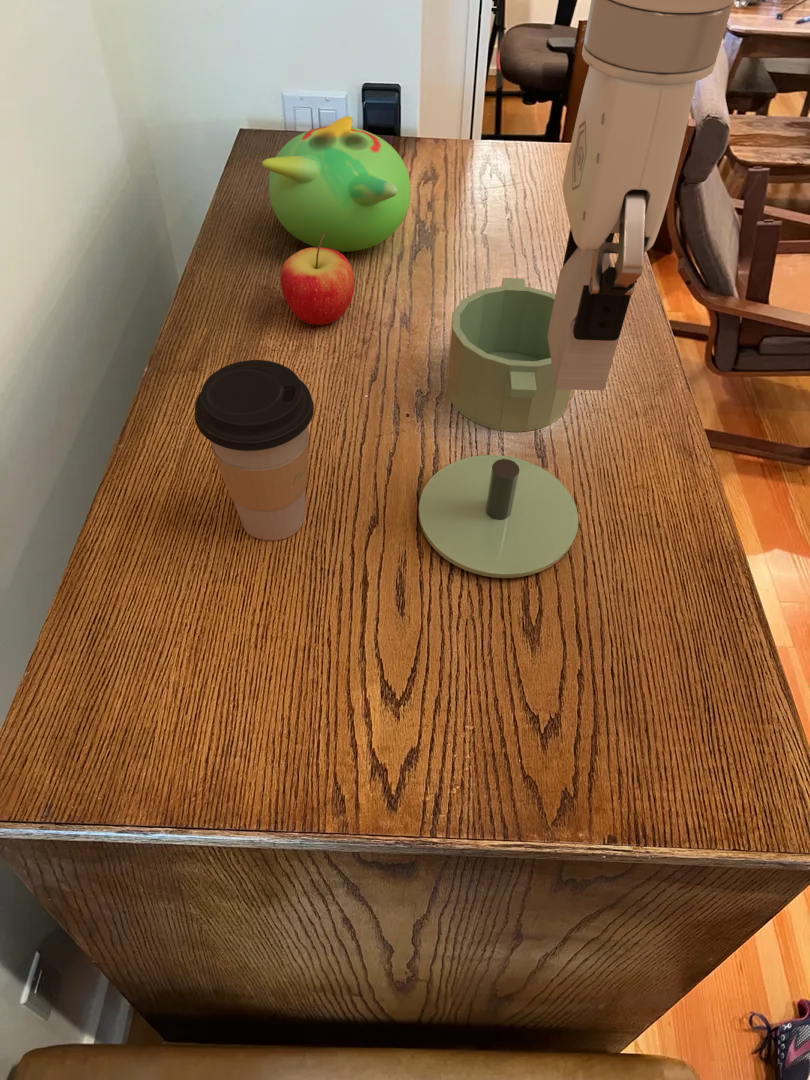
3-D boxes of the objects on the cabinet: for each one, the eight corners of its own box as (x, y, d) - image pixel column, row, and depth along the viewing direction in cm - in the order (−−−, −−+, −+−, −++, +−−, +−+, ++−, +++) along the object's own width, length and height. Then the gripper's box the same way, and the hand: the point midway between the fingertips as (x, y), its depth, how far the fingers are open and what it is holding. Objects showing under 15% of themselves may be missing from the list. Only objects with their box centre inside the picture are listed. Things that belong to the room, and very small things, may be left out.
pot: (562, 340, 90) (576, 274, 84) (579, 452, 78) (598, 386, 72) (446, 335, 90) (452, 269, 84) (446, 446, 78) (452, 380, 72)
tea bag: (555, 389, 59) (582, 270, 51) (547, 335, 63) (570, 218, 55) (604, 390, 59) (637, 272, 51) (592, 337, 63) (621, 220, 55)
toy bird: (414, 216, 108) (418, 104, 96) (401, 283, 97) (404, 165, 86) (287, 207, 109) (277, 94, 97) (261, 272, 98) (245, 154, 86)
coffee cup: (336, 540, 70) (327, 414, 58) (234, 569, 68) (204, 444, 56) (306, 470, 75) (292, 343, 64) (211, 495, 73) (179, 367, 62)
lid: (567, 466, 77) (581, 415, 72) (584, 586, 67) (601, 537, 62) (420, 460, 77) (422, 408, 72) (416, 578, 67) (418, 529, 62)
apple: (368, 311, 93) (367, 233, 85) (326, 346, 88) (320, 267, 81) (314, 289, 96) (308, 212, 88) (270, 322, 91) (260, 243, 83)
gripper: (569, -19, 49) (528, 244, 62) (610, 90, 38) (548, 380, 51) (687, -15, 49) (620, 247, 62) (762, 95, 38) (660, 383, 51)
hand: (588, 305), depth 57 cm, fingers closed on tea bag, 6 cm apart
